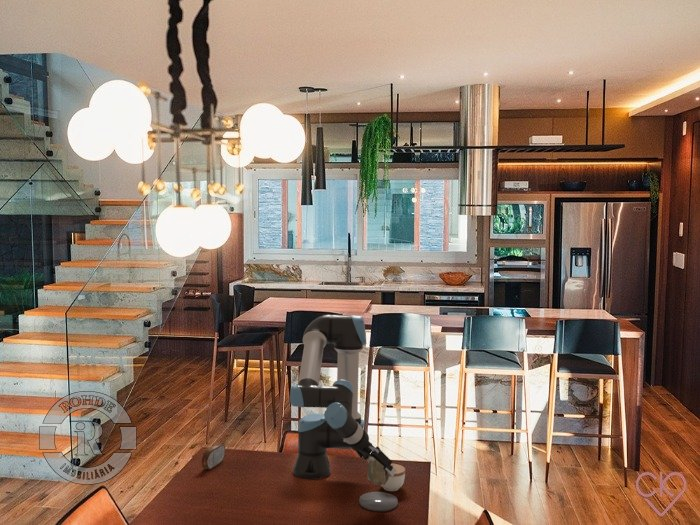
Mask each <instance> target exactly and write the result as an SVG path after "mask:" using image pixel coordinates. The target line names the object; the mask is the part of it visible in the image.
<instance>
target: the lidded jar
mask: <svg viewBox="0 0 700 525" xmlns="http://www.w3.org/2000/svg"><path fill="white" fill-rule="evenodd" d="M391 465H392V466H393V467H394V468H395V469H396V470H397V471H396V472H395V474H394V476H393V477H392V476H391V475H389V479H388V481H387V482H386V483H385V485H380V486H381V487H382V488H383V490H385V491H387V492H396V491H398V490H399V489H401V487H402V486H403V485H404V483H405V478H406V468H405V467H404V466H403V465H401V464H397V463H392V464H391Z"/></svg>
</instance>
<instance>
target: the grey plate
mask: <svg viewBox="0 0 700 525" xmlns="http://www.w3.org/2000/svg"><path fill="white" fill-rule="evenodd" d="M398 501H399V500H398V498H397V496H395V495H394V494H391V493H388V492H383V491H371V492H366V493H363V494H361V495H360V497H359V501H358V502H359V505H360V506H361V507H362V508H364V509H365V510H368V511H373V512H388V511H392V510H394V509H396V507H397V506H398V504H399V502H398Z"/></svg>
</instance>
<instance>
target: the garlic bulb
mask: <svg viewBox="0 0 700 525" xmlns="http://www.w3.org/2000/svg"><path fill="white" fill-rule="evenodd" d="M366 471H367V472H366V473H367V477H366V478H367V480H368V481H369V482H371V483H373V484H374V485H377V486H381V485H385V483H386V482H387V481H388V479H389V475H390V474H389V473H388V472H387V471H386V470H385V469H383V465H382V464H380V463H379V462H378V461H377V460H376V459H374V458H373V459H371V460H370V462H369V463H368V464H367V467H366Z"/></svg>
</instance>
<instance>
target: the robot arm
mask: <svg viewBox="0 0 700 525" xmlns="http://www.w3.org/2000/svg"><path fill="white" fill-rule="evenodd" d="M302 343H303V352H302V358H301V363H300V368H299V369H300V370H299V374H298V375H299V376H298V382H297V384H293V385H291V387H290V392H289V402H290V405H291V406H292V407H297V408H324V409H326V410H325V411H324V413H311V414H308V415H305V416H303V417H301V418H300V419H299V420H298V428H297V432H298V434H297V435H298V436H297V437H298V438H297V439H298V441H297V442H298V443H297V445H298V446H297V457H296V460H295V462H294V465H293V469H292V470H293V472H292V473H293V475H294V476H295V477H298V478H301V479H305V480H318V479H323V478H326V477H328V476H330V474H331V469H332V468H331V464H330V460H329V458H328V454H327V449H334V450H335V449H338V450H341V449H343V450H353V451H355V453H356V454H357V455H358V456H359V457H360V458H363V459H364V460H366V461H367V463H368V464H369V462H370V460H371V459H373V458H374V459H376V460H377V461H378V462H379V463H380V464H382V465H383V469H385V470H386V471H387V472H388V473H389V474H390V475H391V476H392V477H393V476H394V474H395V472H396V471H397V470H396V469H395V468H394V467H393V466H392V465H391V464H393V461H392V459H390V458H389V457H388V456H387V455H386V453H384V452H383V450H381V448H380V447H379V446H376V447H375V446H374V445H373V443H372V442H371V441H370V436H369V433H368V432H366V430H365V428H364V427H365V419H362V415H361V413H360V412H359V410H358V406H359V405H358V403H359V402H358V401H359V361H360V358H359V357H360V352H361V351H362V350H363V349H364V348H363V347H364V346H365V345H367V334H366V326H365V320H364V317H363V316H362V315H354V314H323V315H320V316H318V317H316V318H315V319H314V320H312V321H310V323H309V325H307V327H306V328H305V330H304V332H303V336H302ZM327 344H331V345H332V344H333V347H334V348H333V349H334V350H335V351H336V352H337V366H336V369H337V371H336V375H337V376H336V380H335V381H334V382H333V384H332V385H320V377H321V369H322V365H323V364H322V362H323V356H324V355H323V354H324V348H325V347H326V345H327Z"/></svg>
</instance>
